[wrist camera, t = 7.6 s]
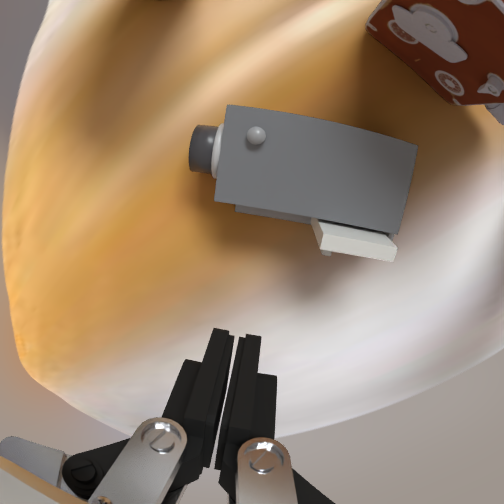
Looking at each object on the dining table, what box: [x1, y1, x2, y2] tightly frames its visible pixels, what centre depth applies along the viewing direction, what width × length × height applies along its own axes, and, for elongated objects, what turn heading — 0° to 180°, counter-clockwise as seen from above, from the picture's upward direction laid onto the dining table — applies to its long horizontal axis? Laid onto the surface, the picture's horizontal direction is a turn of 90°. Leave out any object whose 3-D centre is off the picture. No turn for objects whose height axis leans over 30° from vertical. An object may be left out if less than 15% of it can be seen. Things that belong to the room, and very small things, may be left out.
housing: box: [189, 105, 418, 241], centre depth 29 cm, size 21×11×7 cm, turn 81°
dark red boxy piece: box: [366, 0, 504, 125], centre depth 16 cm, size 9×19×20 cm, turn 56°
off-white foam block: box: [311, 217, 398, 262], centre depth 29 cm, size 7×2×8 cm, turn 81°
